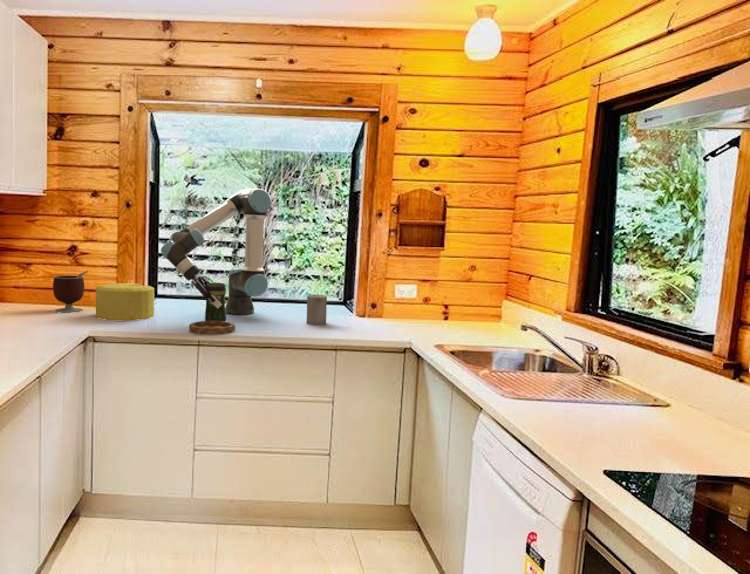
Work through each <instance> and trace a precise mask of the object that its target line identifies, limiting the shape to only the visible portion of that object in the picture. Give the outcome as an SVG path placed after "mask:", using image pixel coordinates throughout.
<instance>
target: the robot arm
mask: <svg viewBox="0 0 750 574" xmlns="http://www.w3.org/2000/svg"><path fill="white" fill-rule="evenodd" d="M271 206H272V197H271V196H270V193H269V192H268V191H267V190H265V189H263V188H244V189H241V190H240V191H237V192H236V193H235V194H233V195H232V196H231V197H228V198H227V199H226V200H225V203H223V204H221V205H220V206H218V207H217V208H215V209H213V210H212V211H209V212H208V213H207V214H206V215H204V216H202V217H201V218H199V219H197V220H196V221H194V222H192V223H191V224H189V225H187V226H186V227H185V228H182V229H181V230H179V231H174V232H173V233H171V235H170V238H169V241H167V242H165V243H164V245H162V246H161V248H160V252H161V254H162V255H163V256H164V257H165V259H167V261H168V262H169V263H171V265H172V266H173V267H174V268H175V269H176V271H177V273H178V272H179V273H180V274H182V276H183V277H184V278H185V279H186V280H187V281H190V283H191V284H192V285H194V287H195V288H196V289H197V290H198V291H199V292H200V294H201V295H202V296H203V297H204V299H205V300H206V299H207V298H208V299H209V300H210V301H211V302H212V303H213V304H214V305H215V306H216V307H217V309H218V308H219V307H220V306H221V305H222V304H221V303H220V302H219V301H218V300H217V298H216V297H215V296H214V295H213V294H212V295H211V293H210V292H209V291H208V289H207V288H206V284H207V283H211V281H209V280H208V278H207V277H205V275H200V274H199V273H200V272H201V269H200V267H198V266H197V265H196V264H195V263H194V261H193V260H192V259H191V258H190V257H189V256H188V255H189V254H190V253H191V252H192V251H194V250H195V249H197V248H198V247H199V246H201V244H202V243H203V242H204V241H205V238H204V235H205V234H207V233H209V232H210V231H212V230H213V229H215V228H217V227H219V226H220V225H221V224H224V222H226V221H227V220H229V219H230V218H232V217H234V216H235V217H238V216H240V215H241V214H243V216H244V218H245V240H244V241H245V243H244V244H245V245H244V246H245V248H244V265H243V267H242V268H235V269H234V268H233V269H230V270H229V272H228V298H227V300H226V299H225V312H226V314H228V313H231V314H230V315H251V314H252V315H253V314H254V313H255V307H254V304H253V300H252V297H255V298H256V297H261V296H262V295H263V294H264V293H266V291H267V290H268V285H269V283H268V279H267V277H266V276H265V269H264V268H263V265H262V262H263V245H264V244H263V241H264V220H265V219H266V218H268V217H267V216H268V211H269V209H270V208H271Z"/></svg>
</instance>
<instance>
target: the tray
mask: <svg viewBox="0 0 750 574" xmlns="http://www.w3.org/2000/svg"><path fill="white" fill-rule="evenodd" d="M189 330H190V332H191V333H192V332H193V333H194V334H198V335H225V334H231V333H233V332H235V331H236V324H235V323H234V322H231V321H227V320H226V321H205V320H201V321H194V322H191V323H188V331H189ZM234 330H235V331H234Z"/></svg>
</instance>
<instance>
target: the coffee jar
mask: <svg viewBox="0 0 750 574" xmlns="http://www.w3.org/2000/svg"><path fill="white" fill-rule="evenodd" d="M206 288H207V289H208V291H209V292H210V293H211V295H212V294H213V295H214V296H215V297H216V298H217V300H218V301H219V302H220V303H221V304H222V305H221V306H220V307H219V308H218V309H217V307H216V306H215V305H214V304H213V303H212V302H211V301H210V300H209V299H208V298H207V299H205V312H204V313H205V314H204V321H226V322H227V315H226V314H227V313H226V312H225V307H226V304H225V300H226V299H225V297H226V294H227V288H226V284H225V283H223V282H210V283H207V284H206Z"/></svg>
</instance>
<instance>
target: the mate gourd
mask: <svg viewBox="0 0 750 574" xmlns="http://www.w3.org/2000/svg"><path fill="white" fill-rule="evenodd" d="M86 273H88V270H86V271H82V272H81V273H79V274H78V275H56V276H55V275H54V276H53V281H52V292H53V297H54V298H55V299H56V300H57V301H58V302H61V303H64V305H65V306H64V307H61V308H55V309H54V310H55V311H56V312H55V311H54V312H55V313H58V312H61V313H60V314H62V313H63V314H72V313H71V312H76V313H81V312H83V311H84V310H83V308H79V307H74V306H73V304H75V303H77V302H79V301H81V300H82V298H83V296H84V293H85V281H84V276H83V275H85V274H86ZM80 311H81V312H80Z"/></svg>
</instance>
